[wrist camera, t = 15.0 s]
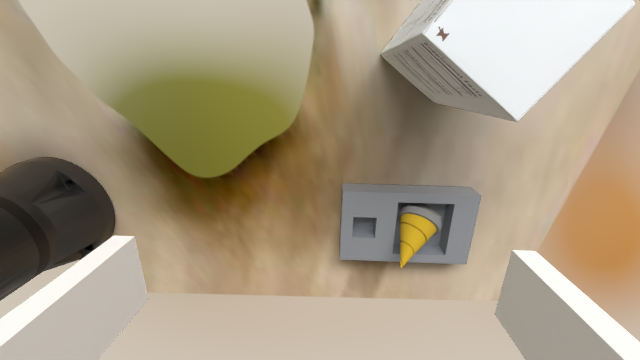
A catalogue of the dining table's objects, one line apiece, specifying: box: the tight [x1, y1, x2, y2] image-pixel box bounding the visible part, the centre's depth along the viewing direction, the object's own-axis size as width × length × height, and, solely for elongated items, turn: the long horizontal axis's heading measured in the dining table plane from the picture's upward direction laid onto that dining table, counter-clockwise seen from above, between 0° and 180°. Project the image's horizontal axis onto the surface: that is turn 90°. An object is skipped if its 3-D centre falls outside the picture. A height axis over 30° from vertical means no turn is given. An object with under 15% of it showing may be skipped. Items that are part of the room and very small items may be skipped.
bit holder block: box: [339, 183, 481, 264], centre depth 40 cm, size 17×10×3 cm, turn 89°
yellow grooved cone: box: [398, 203, 442, 268], centre depth 38 cm, size 5×5×10 cm
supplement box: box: [381, 0, 635, 122], centre depth 26 cm, size 10×9×17 cm
